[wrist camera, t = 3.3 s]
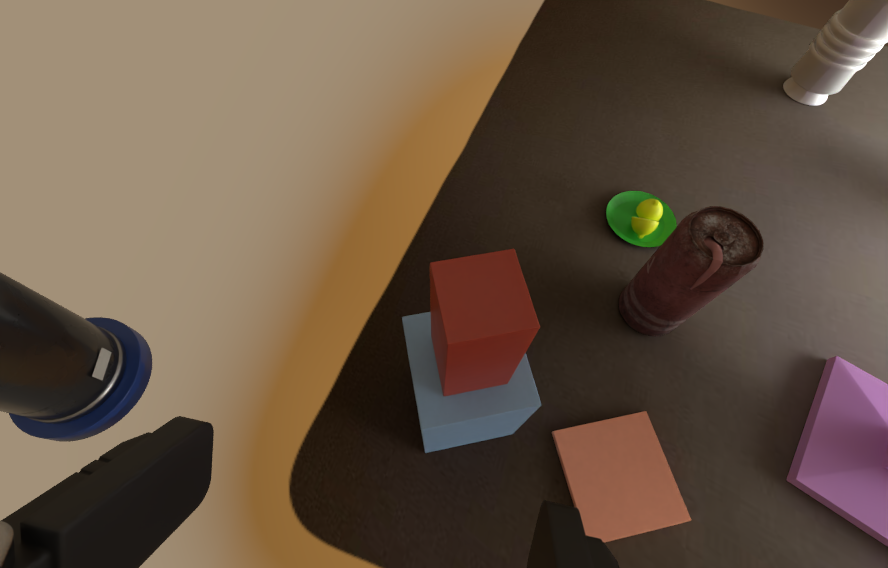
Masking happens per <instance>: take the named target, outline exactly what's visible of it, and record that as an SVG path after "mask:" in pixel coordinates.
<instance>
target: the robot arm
mask: <svg viewBox="0 0 888 568" xmlns="http://www.w3.org/2000/svg"><path fill="white" fill-rule="evenodd" d="M126 360H127V358H126V350H125V347H124V345H123V343H122V341H121V340H120V339H119V338H118V337H117V336H116V335H115V334H113V333H111V332H109V331H108V330H106V329H104V328H102V327H99V326H96V325H94V324H93V323H91V322H89V321H87V320H86V319H84V318H82V317H80V316H79V315H77V314H75V313H73V312H71V311H69V310H68V309H66V308H64V307H62V306H60V305H58V304H57V303H55V302H53V301H51V300H49V299H48V298H46V297H44V296H42V295H40V294H39V293H37V292H35V291H33V290H31V289H29V288H28V287H26V286H24V285H22V284H20V283H19V282H17V281H15V280H13V279H11V278H10V277H7V276H6V275H4V274H2V273H0V411H3V412H7V413H11V414H15V415H20V416H24V417H27V418H29V419H32V420H35V421H40V422H44V423H51V424H58V423H66V422H70V421H73V420H76V419H79V418H81V417H83V416H85V415H87V414H89V413H90V412H92V411H94V410H95V409H97V408H98V407H99V406H100V405H102V404H103V403H104V402H105V401H106V400H107V399H108V398H109V397H110V396H111V395H112V393H113V392H114V391H115V389H116V388H117V386H118V385H119V383H120V381H121V379H122V377H123V374H124V371H125V368H126ZM212 451H213V427H212V425H211V424H210V423H208V422H203V421H199V420H194V419H190V418H186V417H181V416H179V417H175V418H174V419H172V420H170V421H169V422H167V423H166V424H165V425H163V426H162V427H160V428H159V429H157V430H156V431H154V432H153V433H146V434H143V435H141V436H138V437H135V438H133V439H130V440H127V441H125V442H122V443H120V444H119V445H117V446H116V447H114V448H113V449H111V450H110V451H108V452H107V453H105V454H103V455H102V456H100V458H99V460H94V461H93V462H91V463H90V464H88V465H87V466H85V467H83V468H82V469H81V471H80V472H79V473H77V472H76V473H74V474H73V475H71V476H69V477H68V478H66V479H65V480H63V481H62V482H60V483H59V484H57V485H56V486H54V487H52V488H51V489H49V490H48V491H46V492H45V493H43V494H42V495H40V496H39V497H37V498H35V499H34V500H33V501H31V502H30V503H28V504H27V505H25V506H23V507H22V508H20V509H18V510H17V511H16V512H14V513H12V514H11V515H9V516H8V517H6V518H5V519H3V520H1V521H0V568H139V567H140V566H141V565H142V564H143V563H144V562H145V560H147V558H149V556H150V555H151V554H152V553H153V552H154V551H155V550H156V549H157V548H158V547H159V546H160V545H161V544H162V543H163V542H164V541H165V540H166V539H167V538H168V537H169V536H170V535H171V534H172V533H173V532H174V531H175V530H176V529H177V528H178V527H179V526H180V525H181V524H182V522H184V521H185V519H187V518H188V517H189V515H190V514H191V513H192V512H193V511H194V510H195V509H196V508H197V507H198V506H199V505H200V503H201V502H202V501H203V499H204V497H205V495H206V493H207V491H208V488H209V485H210V481H211V470H212V469H211V468H212ZM527 568H619V565H618V562H617V560H616V559H615V557H614V556H613V555H612V553H611V552H610V551H609V549H608V548H607V546H606V545H605V544H604V542H603V541H602V540H601V539H599V538H595V537H591V536H586V534H585V530H584V527H583V523H582V519H581V515H580V512H579V509H578V508H577V507H572V506H568V505H563V504H559V503H555V502H550V501H546V500H544V501H543V503H542V505H541V508H540V512H539V516H538V520H537V524H536V528H535V532H534V537H533V541H532V545H531V549H530V553H529V557H528V563H527Z"/></svg>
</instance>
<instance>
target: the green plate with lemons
mask: <svg viewBox="0 0 888 568" xmlns="http://www.w3.org/2000/svg"><path fill="white" fill-rule="evenodd" d="M606 216H607V220H608V223H609V225H610V226H611V228H612V229H613V231H614V232H615V233H616V234H617V235H618V236H620V237H621V238H622V239H624V240H625V241H627V242H629V243H632V244H634V245H638V246H642V247H656V246H660V245H662V244H663V243H664V241H665V240H666V239H667V238H668V237H669V236H670V234H671V233H672V232H673V231H674V230H675V228H676V219H675V216H674V214H673V212H672V211H671V209H670V208H669V207H668V206H667V205H666V203H664V202H663V201H662V200H660V199H659V198H657V197H655V196H654V195H651V194H648V193H645V192H641V191H627V192H622V193H620V194H618V195H616V196H615V197H613V198H612V199H611V200H610V202H609V203H608V206H607V210H606Z"/></svg>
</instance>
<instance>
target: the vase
mask: <svg viewBox="0 0 888 568" xmlns="http://www.w3.org/2000/svg"><path fill="white" fill-rule="evenodd" d="M786 481H788V482H790V483H791V484H793V485H794V486H796V487H797V488H799V489H800V490H802V491H803V492H805V493H806V494H808V495H809V496H811V497H812V498H814V499H815V500H817V501H819V502H820V503H822V504H823V505H825V506H826V507H828V508H829V509H831V510H832V511H834V512H835V513H837V514H838V515H840V516H841V517H843V518H844V519H846V520H848V521H849V522H851V523H852V524H854V525H855V526H857V527H858V528H860V529H861V530H863V531H864V532H866V533H867V534H869V535H870V536H872V537H873V538H875V539H877V540H878V541H880V542H881V543H883V544H884V545H886V546H887V547H888V384H886V383H884V382H883V381H881V380H879V379H877V378H876V377H874V376H872V375H870V374H868V373H867V372H865V371H863V370H861V369H859V368H858V367H856V366H854V365H852V364H851V363H849V362H847V361H845V360H843V359H842V358H840V357H838V356H835V357H833V358H830V359H828V360H827V361H826V364H825V367H824V370H823V373H822V376H821V379H820V382H819V385H818V388H817V391H816V394H815V397H814V400H813V403H812V406H811V408H810V411H809V414H808V417H807V420H806V423H805V426H804V429H803V432H802V435H801V438H800V441H799V444H798V447H797V450H796V452H795V455H794V458H793V461H792V464H791V467H790V470H789V473H788V476H787V479H786Z"/></svg>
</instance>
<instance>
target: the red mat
mask: <svg viewBox="0 0 888 568" xmlns="http://www.w3.org/2000/svg"><path fill="white" fill-rule="evenodd" d="M552 436H553V439H554V442H555V445H556V449H557V452H558V455H559V458H560V462H561V465H562V468H563V471H564V475H565V478H566V481H567V484H568V488H569V491H570V494H571V498H572V501H573V504H574V507H577V508H578V509H579V512H580V515H581V519H582V523H583V527H584V530H585V534H586V536H591V537H595V538H599V539H601V540H602V541H603V542H608V541H612V540H616V539H620V538H624V537H628V536H632V535H636V534H640V533H644V532H648V531H652V530H656V529H660V528H664V527H668V526H672V525H676V524H680V523H684V522H688V521H691V518H690V516H689V514H688V511H687V509H686V506H685V504H684V501H683V499H682V497H681V494H680V492H679V489H678V487H677V485H676V482H675V480H674V477H673V475H672V472H671V470H670V468H669V465H668V463H667V460H666V458H665V456H664V453H663V451H662V448H661V446H660V443H659V441H658V439H657V436H656V434H655V431H654V429H653V427H652V424H651V422H650V419H649V417H648V414H647V412H646V411H643V412H639V413H634V414H630V415H625V416H620V417H616V418H611V419H606V420H602V421H597V422H593V423H588V424H583V425H579V426H574V427H569V428H565V429H560V430H556V431H553V432H552Z"/></svg>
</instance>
